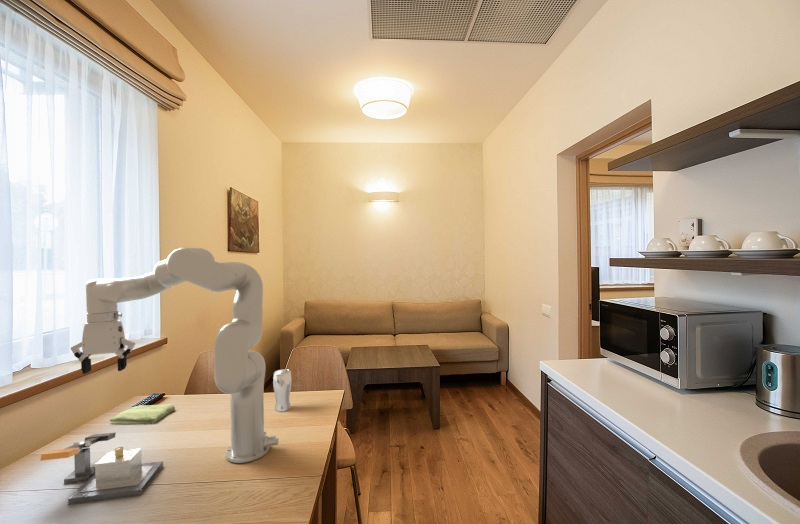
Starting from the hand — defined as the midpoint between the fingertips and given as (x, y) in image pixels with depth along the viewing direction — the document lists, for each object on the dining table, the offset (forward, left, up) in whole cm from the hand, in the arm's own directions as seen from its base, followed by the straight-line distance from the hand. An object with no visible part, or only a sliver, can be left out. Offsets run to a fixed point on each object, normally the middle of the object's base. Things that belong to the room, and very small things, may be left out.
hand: (104, 371), depth 113 cm
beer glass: (-52, -19, -26) cm, 61 cm away
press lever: (-2, +15, -16) cm, 22 cm away
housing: (-14, +21, -24) cm, 34 cm away
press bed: (-10, +20, -25) cm, 34 cm away
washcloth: (0, -24, -26) cm, 35 cm away
